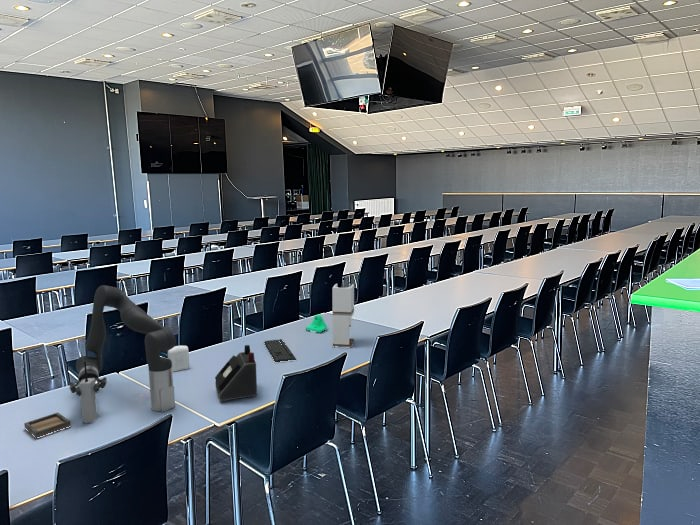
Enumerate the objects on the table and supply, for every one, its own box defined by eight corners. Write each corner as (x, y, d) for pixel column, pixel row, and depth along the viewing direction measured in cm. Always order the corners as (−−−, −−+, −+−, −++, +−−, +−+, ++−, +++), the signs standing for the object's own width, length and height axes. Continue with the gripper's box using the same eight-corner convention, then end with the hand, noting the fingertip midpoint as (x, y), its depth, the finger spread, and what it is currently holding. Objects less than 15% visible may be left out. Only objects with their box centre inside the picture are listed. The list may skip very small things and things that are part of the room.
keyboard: (296, 361, 268) (296, 358, 267) (275, 364, 264) (275, 360, 264) (282, 341, 301) (282, 338, 300) (263, 343, 297) (263, 340, 297)
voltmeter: (215, 389, 231) (213, 347, 227) (250, 384, 236) (249, 343, 233) (219, 403, 216) (217, 359, 213) (257, 398, 222) (255, 354, 218)
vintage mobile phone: (98, 417, 204) (93, 358, 200) (92, 423, 199) (87, 362, 195) (89, 417, 203) (83, 358, 199) (82, 423, 199) (77, 362, 195)
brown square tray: (70, 427, 195) (70, 421, 195) (36, 439, 186) (35, 433, 186) (58, 418, 203) (57, 412, 203) (24, 429, 194) (24, 423, 193)
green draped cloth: (304, 331, 320) (304, 315, 319) (312, 328, 327) (311, 312, 325) (320, 334, 314) (319, 318, 312) (327, 331, 320) (327, 315, 319)
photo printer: (188, 366, 260) (186, 343, 258) (190, 368, 256) (189, 345, 254) (167, 370, 254) (166, 346, 252) (169, 373, 251) (168, 349, 249)
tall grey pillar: (351, 348, 287) (350, 288, 282) (332, 347, 289) (332, 287, 283) (354, 342, 298) (354, 284, 293) (336, 341, 300) (336, 283, 294)
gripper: (68, 371, 208) (65, 386, 193) (106, 365, 214) (107, 379, 199) (70, 388, 209) (67, 404, 194) (108, 382, 215) (108, 397, 200)
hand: (87, 391), depth 197 cm, fingers closed on vintage mobile phone, 5 cm apart
